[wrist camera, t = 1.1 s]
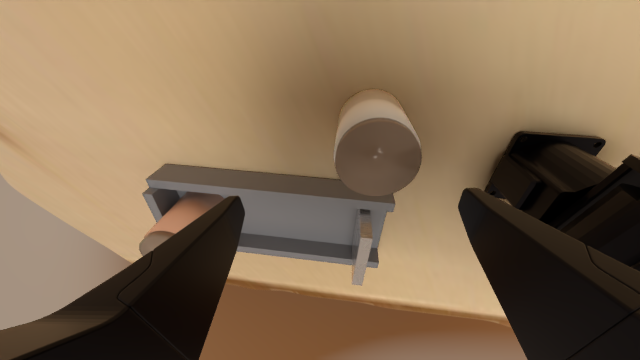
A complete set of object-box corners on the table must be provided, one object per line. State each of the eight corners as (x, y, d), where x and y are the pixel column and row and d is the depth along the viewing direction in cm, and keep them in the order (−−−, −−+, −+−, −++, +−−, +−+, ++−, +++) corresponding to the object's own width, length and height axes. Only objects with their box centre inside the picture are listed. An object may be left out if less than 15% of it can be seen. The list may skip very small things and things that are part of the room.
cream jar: (410, 91, 18) (437, 123, 13) (395, 153, 22) (411, 201, 16) (341, 86, 19) (335, 116, 13) (336, 148, 22) (330, 193, 16)
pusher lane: (390, 184, 24) (397, 211, 20) (375, 247, 29) (377, 276, 26) (165, 163, 25) (137, 185, 22) (190, 226, 31) (171, 250, 27)
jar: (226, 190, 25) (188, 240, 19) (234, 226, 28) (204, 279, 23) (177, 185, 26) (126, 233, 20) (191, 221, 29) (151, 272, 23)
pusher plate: (369, 200, 23) (372, 238, 19) (360, 245, 27) (361, 285, 23) (359, 199, 24) (360, 237, 19) (351, 244, 27) (351, 284, 23)
